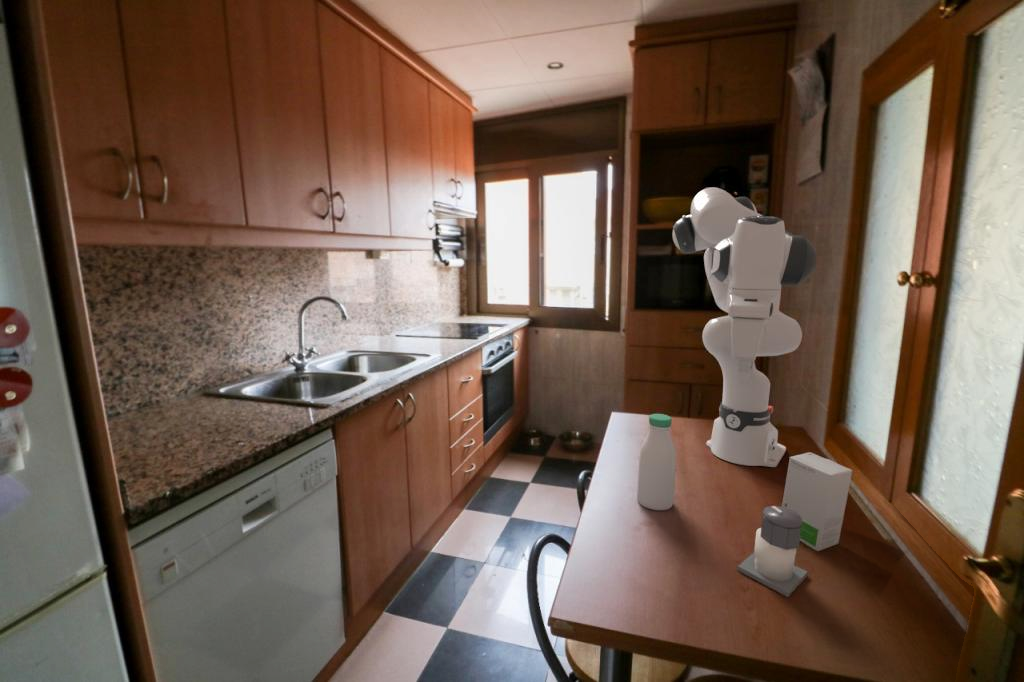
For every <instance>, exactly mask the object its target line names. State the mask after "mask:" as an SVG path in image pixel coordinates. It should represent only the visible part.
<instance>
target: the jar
mask: <svg viewBox="0 0 1024 682" xmlns="http://www.w3.org/2000/svg"><path fill="white" fill-rule="evenodd" d="M797 549H798V548H796V549H788V550H786V549H783V548H779V547H776V546H773V545H771V544H769V543H768V542H766V541H765V540H764V539H763V538H762V537H761V527H759V528H757V530H756V532H755V541H754V551H753V553H750V555H748V557H747V558H745V559H744V560H743V561H742V562H741V563H740V564H739V565H738V566H737V571H738V572H740V573H742V574H744V575H746V577H749V578H751V579H753V580H755V581H757V582H759V583H761V584H762V585H764V586H766V587H768V588H770V589H772V590H774V591H776V592H777V593H780V594H781V595H783V596H785V597H787V598H789V597H790V596H791V595H792V594H793V592H795V590H796V589H797V588H798V587H799V586H800V585H801V583H802V582H803V581H804V580H805V579H806V578H807V577H808V571H807V570H805V569H803V568H800V567H799V566H797V565H795V564H796V563H795V562H796V555H797ZM797 586H798V587H797ZM796 587H797V588H796ZM795 588H796V589H795Z"/></svg>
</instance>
